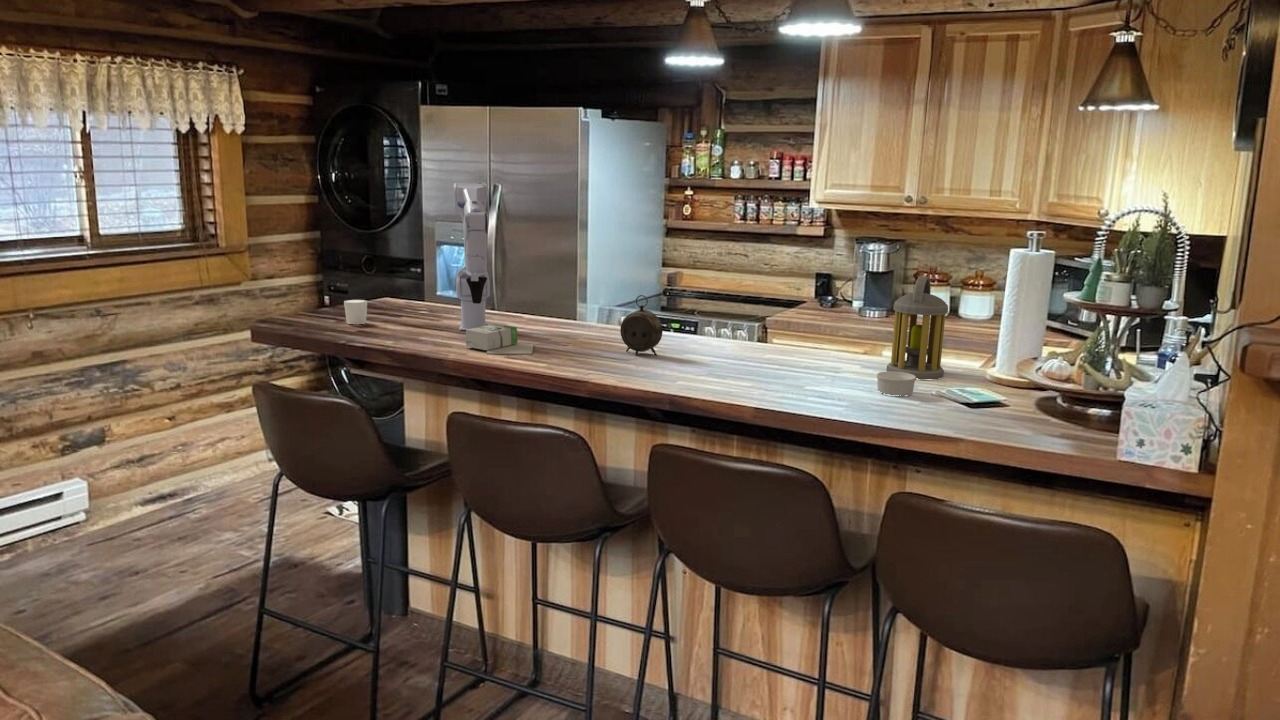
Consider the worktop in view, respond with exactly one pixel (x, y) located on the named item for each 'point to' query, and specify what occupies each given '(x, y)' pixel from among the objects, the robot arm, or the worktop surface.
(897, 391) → the ramekin
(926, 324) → the lantern
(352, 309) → the white cup
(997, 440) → the worktop surface
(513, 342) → the ink box
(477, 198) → the robot arm
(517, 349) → the mat
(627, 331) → the alarm clock
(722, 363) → the worktop surface
